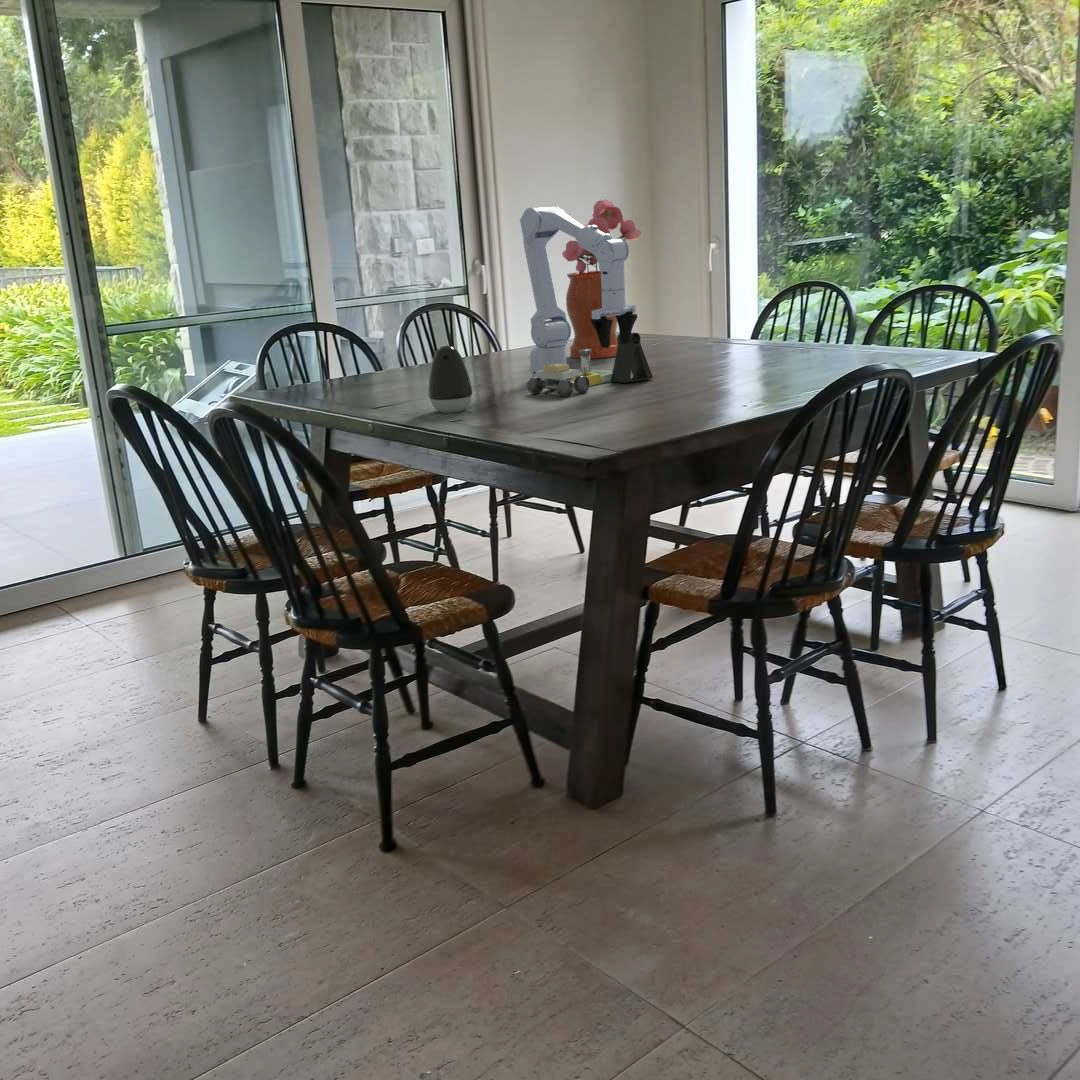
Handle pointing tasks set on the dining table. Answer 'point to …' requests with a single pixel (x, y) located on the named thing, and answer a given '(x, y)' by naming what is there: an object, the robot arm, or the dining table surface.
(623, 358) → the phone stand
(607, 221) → the potted flower
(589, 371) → the stop pin
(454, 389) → the egg shaped device
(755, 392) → the dining table surface
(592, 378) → the pin socket
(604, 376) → the tray
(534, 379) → the toy rover
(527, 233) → the robot arm
